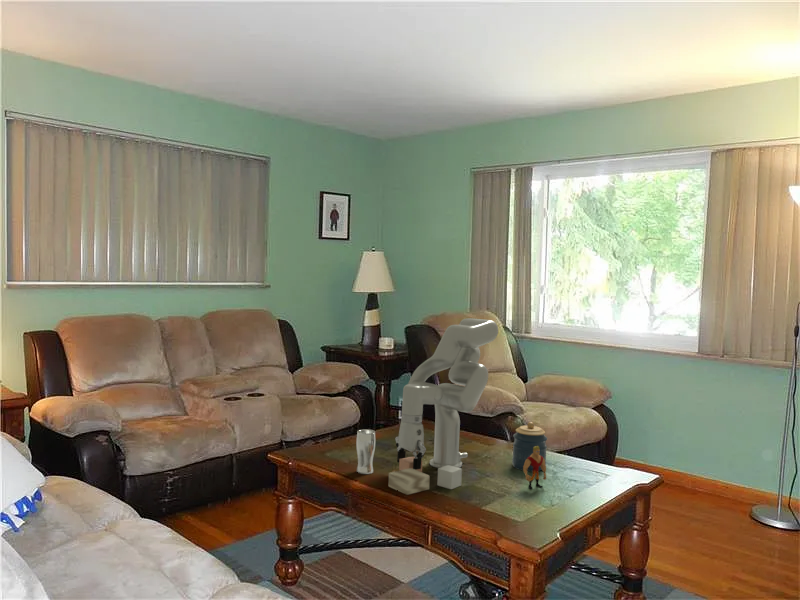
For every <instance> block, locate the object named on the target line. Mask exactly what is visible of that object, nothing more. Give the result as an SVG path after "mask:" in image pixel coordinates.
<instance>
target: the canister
mask: <svg viewBox="0 0 800 600" xmlns="http://www.w3.org/2000/svg"><path fill="white" fill-rule="evenodd" d="M545 434H546V431H545V430H544V429H543V428H541V427H539V426H536V425H535V424H534V422H532V421H529V422H528V423H527V425H525V424H524V425H520V426H519V427H517V428H516V429H515V433H514V434H513V435H512V437H513V438H514V441H513V443H512V446H513V447H512V459H511V462H512V463H511V464H512V466H513V467H514V468H515V469H517V470H521V471H523V466H524V463H525V461H526V459H527V458H528V457H529V456H531V455H532V454H533V453H534V452H533V447H535V446H539V449H540V453H539V455H540V456H542V457H543V458H544V459H545V465H546V466H547V449H548V448H547V447H548V446H547V443H546V442H547V441H548V437H547V436H546V435H545ZM540 470H542V469H541V466H539V469H538V472H541V471H540ZM527 472H533V467H532V466H531V465H530V466H529V467H528V469H527Z"/></svg>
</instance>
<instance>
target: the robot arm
mask: <svg viewBox="0 0 800 600" xmlns="http://www.w3.org/2000/svg"><path fill="white" fill-rule="evenodd" d="M498 334H499V327H498V324H497V322H495V320H494V321H493V320H491V319H482V318H481V319H480V318H470V317H469V318H468V317H467V318H462V320H461V321H460V322H459V324H451V325H449V326H448V327H447V328H446V329H445V331H444V333H443V334H442V337H441V339H440V341H439V343H438V344H437V347H436V349H435V350H434V353H433V355H432V356H430V357H429V358H428V359H426V360H424V361H423V362H422V363H421V364H419V366H417V367H416V369H415V370H414V371H413V372H412V375H411V377H410V378H409V381H408V383H407V384H405V385H404V386H403V389H402V403H401V416H400V417H401V419H400V425H399V431H398V436H396V437H395V438H394V439H395V445H396V451H397V456H396V457H397V458H396V459H397V460H396V461H397V463H398V464H399V459H402V458H406V451H408V452H410V453H412V455H413V457H415V458H414V459H413V469H415V470H417V469H421V460H422V459H423V457H424V455H425V452H426V451H427V448H426V446H425V439H424V438H425V437H424V436H425V434H424V424H423V422H422V421H423V411H424V408H423V407H424V405H434V413H435V417H434V418H435V419H434V420H435V422H434V441H433V442H434V445H433V458H431V459H429V465H430V466H431V467H433V468H436V469H438V468H441V467H444V466H446V465H450V466H454V467H457V468H461V467H462V466H463V462H462V459H464V458H468V457H469V455H468V454H469V453H467V451H466V452H462V453H461V452H460V451H459V450H460V448H459V447H460V428H461V427H460V425H461V420H460V415H459V412H461V413H470V412H472V411H473V410H474V409H475V408H476V406H477V405H478V403H479V400H480V398H481V396H482V395H483V392H484V390H485V388H486V386H487V384H488V380H489V370H488V368H487V367H486V366H485V364H482V363H480V362H479V360H480V358H481V350H480V347H482V346H485V345H487V344H490V343H492V342H493V341H494V340H495V339H496V338H497V337H498ZM448 369H449V370H448ZM444 370H448V371H449V372H448V380H449V381H450V382H451V383H448V382H445V383H444V382H443V383H440V384H434V383H430V382H426V381H427V380H428V378H430V377H431V376H433V375H434V374H437V373H438V372H442V371H444Z"/></svg>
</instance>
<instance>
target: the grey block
mask: <svg viewBox="0 0 800 600" xmlns="http://www.w3.org/2000/svg"><path fill="white" fill-rule="evenodd" d="M462 474H463V468H461V467H460V468H457V467H454V466H450V465H446V466H444V467H441V468H437V486H439V487H442V488H445V489H449V490H453V489H456V488H458V487H461V486H462V477H463V475H462Z"/></svg>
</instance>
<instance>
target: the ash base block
mask: <svg viewBox="0 0 800 600" xmlns="http://www.w3.org/2000/svg"><path fill="white" fill-rule="evenodd" d="M430 476H431V475H430V474H427V473H424V472H423V471H422V472H420V471H417V470H415V469H412V468H408V469H404V470H400V471H399V470H397V471H391V472H388V487H389V488H391V489H393V490H395V491H397V490H398V492H400V493H402V494H405V496H408V495H412V494H416V493H420V492H423V491H428V490H430V478H431V477H430Z"/></svg>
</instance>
